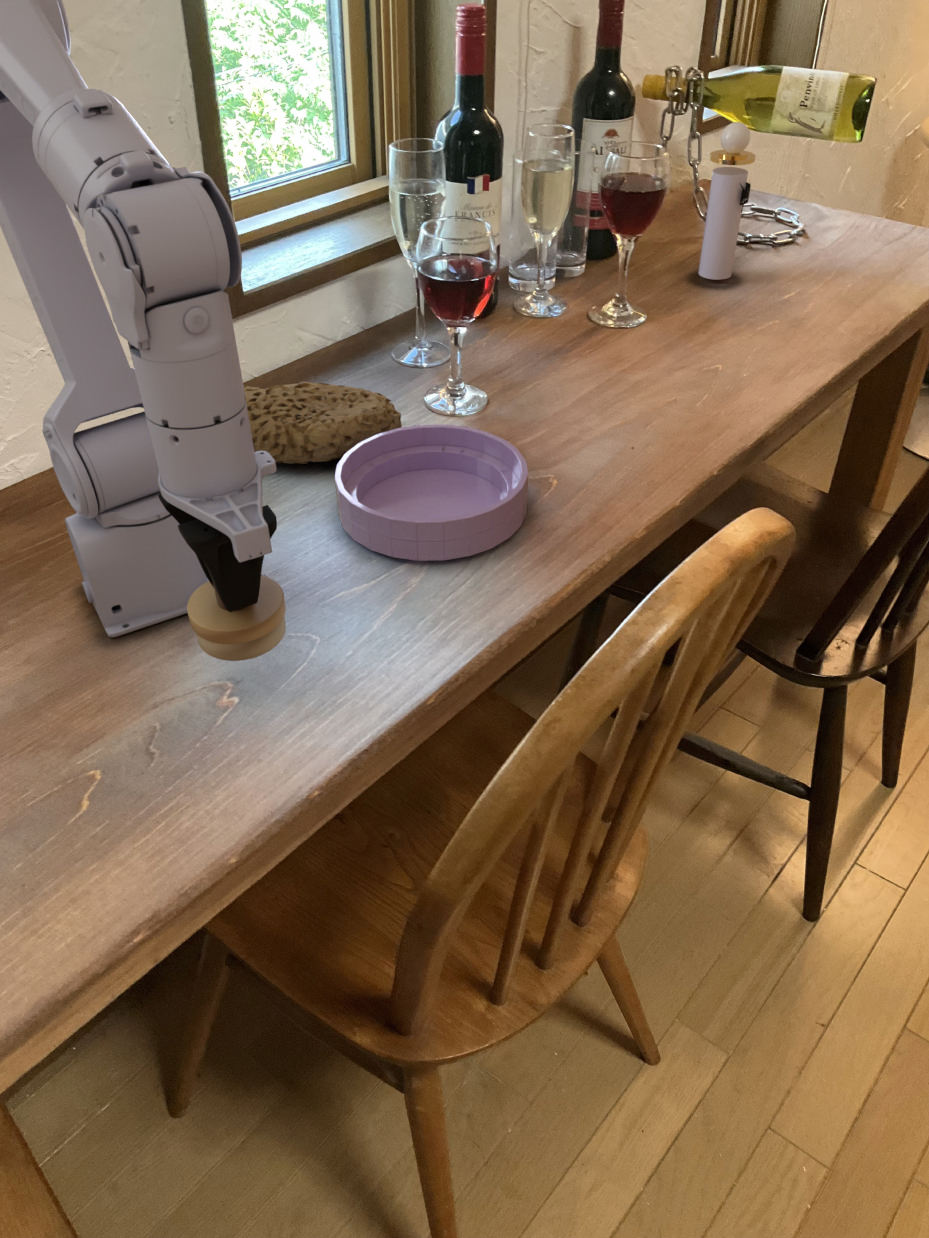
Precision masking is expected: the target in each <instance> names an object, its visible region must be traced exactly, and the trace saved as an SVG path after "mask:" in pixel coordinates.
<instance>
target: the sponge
mask: <svg viewBox="0 0 929 1238" xmlns="http://www.w3.org/2000/svg"><path fill="white" fill-rule="evenodd" d="M243 386H244V392H245V398H246V404H247V410H248V416H249V423H250V429H251V435H252V441H253V446H254V452H257V451H266V452H268V453H269V454H270V455H271V456H272V457H273V459H274V460H275V462H276V464H277V463H278V464H279V463H281V464H289V465H291V464H305V465H306V464H308V463H309V462H313V463H321V462H330V461H333V460H337V459H341V458H342V457H343V456H344V454H345V453H346V452H347V451H349V450H350V449H351V448H353V447H354V446H355V445H357V444H358V443H360V442H361V441H364V440H366V439H368V438H370V437H372V436H374V435H376V434H379V433H383V432H386V431H390V430H393V429H397V428H402V427H403V426H402V420H401V419H402V412H400V411H398V410H396V408H395V405H394V403H392V400H391V399H389V397H388V398H387V396H386V395H384V394H382V393H380V392H373V391H371V390H368V389H364V388H363V387H354V386H353V387H352V386H348V385H341V384H340V385H339V384H333V383H324V382H310V381H300V382H299V383H288V384H287V383H286V384H278V385H274V386H270V387H267V388H265V387H264V388H263V387H259V386H249V385H243Z"/></svg>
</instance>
